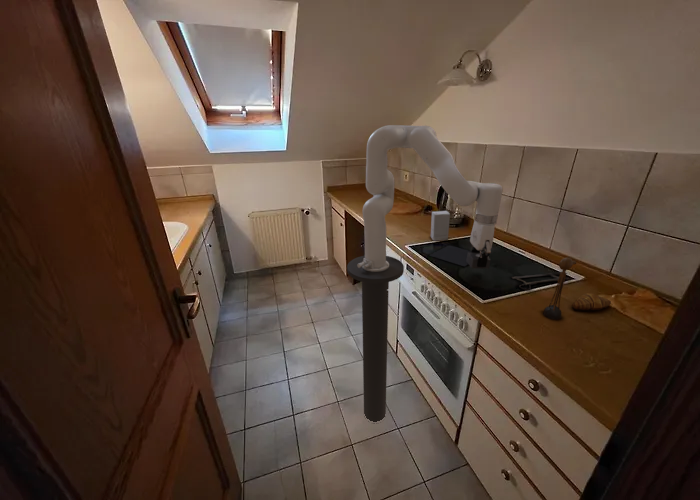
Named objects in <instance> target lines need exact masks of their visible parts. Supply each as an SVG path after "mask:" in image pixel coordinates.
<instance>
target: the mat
mask: <svg viewBox="0 0 700 500" xmlns="http://www.w3.org/2000/svg"><path fill="white" fill-rule="evenodd" d="M471 251H472V250H469V249H465V248H461V247H457V246H454V245H450V244H448V245H446V246H443V247H442V248H440V249H438V250H436V251H434V252H432V253H429V254H428V256H429V257H432V258H434V259H438V260H441V261H443V262H446V263H450V264H453V265H456V266H460V267H463V268H466V267H467V266H470V265H469V264H468V263H467V261H466V260H467V254H468V252H469V253H471Z"/></svg>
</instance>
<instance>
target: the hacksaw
mask: <svg viewBox="0 0 700 500" xmlns="http://www.w3.org/2000/svg"><path fill="white" fill-rule="evenodd" d="M562 271H563V270H562ZM562 271H557V272H556V271H555V272H548V273H538V274H530V275H529V274H528V275H520V276H517V275H516V276H511V279H513V280H517V281H519V282H522V284H520V285H519V286H518V287H519V289H522V290H524V291H525V290H526V291H528V290H531V289H532V287H531V286H533V285H537V284H542V283H549V282H558V279H559V276H560V272H562ZM545 276H549V277H552V278H549V279H542V280H533V281H529V282H527V281H525V280H523V279H526V278H527V279H528V278H535V277H545ZM560 278H561V277H560ZM565 280H568V281H569V282H571V281H572V280H571V278H569V277H565ZM521 286H529V287H528V288H523V287H521Z"/></svg>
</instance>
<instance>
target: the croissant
mask: <svg viewBox="0 0 700 500" xmlns="http://www.w3.org/2000/svg"><path fill="white" fill-rule="evenodd" d="M611 304H612V301H611V300H610V299H608V298H606V297H603V296H599V295H598V294H595V293H590V292H589V293H587V292H586V293H584V294H582V295H581V296H580V297H579V298H577V299H576V300H574V302H573V303H572V305H571V308H572V309H573V310H574V311H575V310H576V311H583V312H588V311H600V310H602V309H606V308H608V307H610V305H611Z"/></svg>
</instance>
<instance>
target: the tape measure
mask: <svg viewBox="0 0 700 500" xmlns="http://www.w3.org/2000/svg"><path fill="white" fill-rule="evenodd" d="M483 253H484V252H482V254H483ZM478 257H480V253H469V252H468V254H467V260H466V261H467V263H468V264H469V265H468V266H469V267H470V268H471V269H483V270H484V269H486V270H487V269H490V266H491V261H492V260H491V257H489V256H488V259H487V264H486V267H477V262H478Z"/></svg>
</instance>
